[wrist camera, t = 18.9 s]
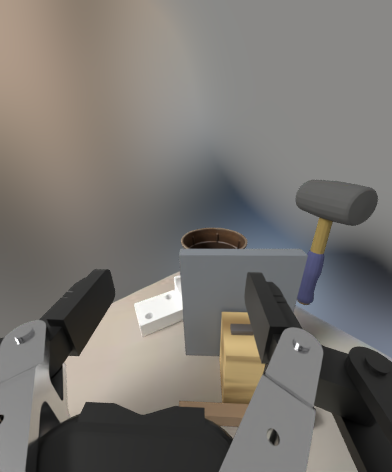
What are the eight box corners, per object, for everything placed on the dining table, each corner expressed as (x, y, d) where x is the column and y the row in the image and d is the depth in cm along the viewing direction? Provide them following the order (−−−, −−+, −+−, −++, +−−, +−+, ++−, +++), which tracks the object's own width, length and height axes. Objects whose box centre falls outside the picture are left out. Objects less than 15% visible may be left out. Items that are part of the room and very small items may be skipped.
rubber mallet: (337, 317, 42) (389, 184, 30) (310, 324, 40) (354, 187, 28) (297, 284, 53) (323, 177, 41) (274, 288, 52) (295, 178, 40)
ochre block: (256, 408, 27) (267, 352, 22) (222, 406, 28) (226, 351, 22) (246, 360, 34) (253, 308, 29) (219, 359, 34) (221, 308, 29)
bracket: (184, 296, 50) (183, 274, 47) (196, 315, 44) (195, 290, 41) (136, 314, 45) (131, 290, 42) (142, 338, 39) (137, 311, 36)
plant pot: (212, 267, 62) (212, 223, 56) (253, 290, 51) (260, 238, 45) (173, 288, 53) (168, 238, 46) (213, 323, 41) (215, 263, 35)
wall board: (308, 430, 25) (364, 310, 16) (179, 423, 26) (165, 306, 17) (277, 347, 36) (300, 248, 27) (186, 345, 37) (180, 248, 28)
